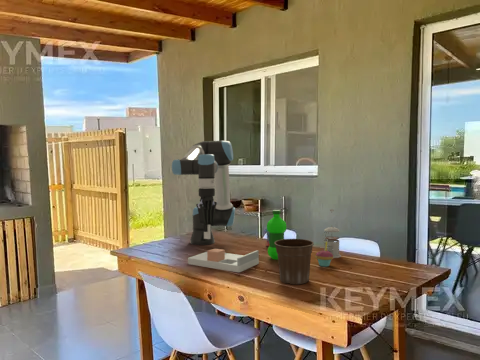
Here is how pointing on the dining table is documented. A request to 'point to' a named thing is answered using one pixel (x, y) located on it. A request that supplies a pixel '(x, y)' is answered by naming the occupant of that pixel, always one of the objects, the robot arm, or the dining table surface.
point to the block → (216, 255)
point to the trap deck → (227, 261)
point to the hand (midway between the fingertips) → (207, 238)
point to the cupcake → (324, 257)
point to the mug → (267, 237)
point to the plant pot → (294, 260)
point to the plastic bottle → (275, 232)
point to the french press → (332, 241)
